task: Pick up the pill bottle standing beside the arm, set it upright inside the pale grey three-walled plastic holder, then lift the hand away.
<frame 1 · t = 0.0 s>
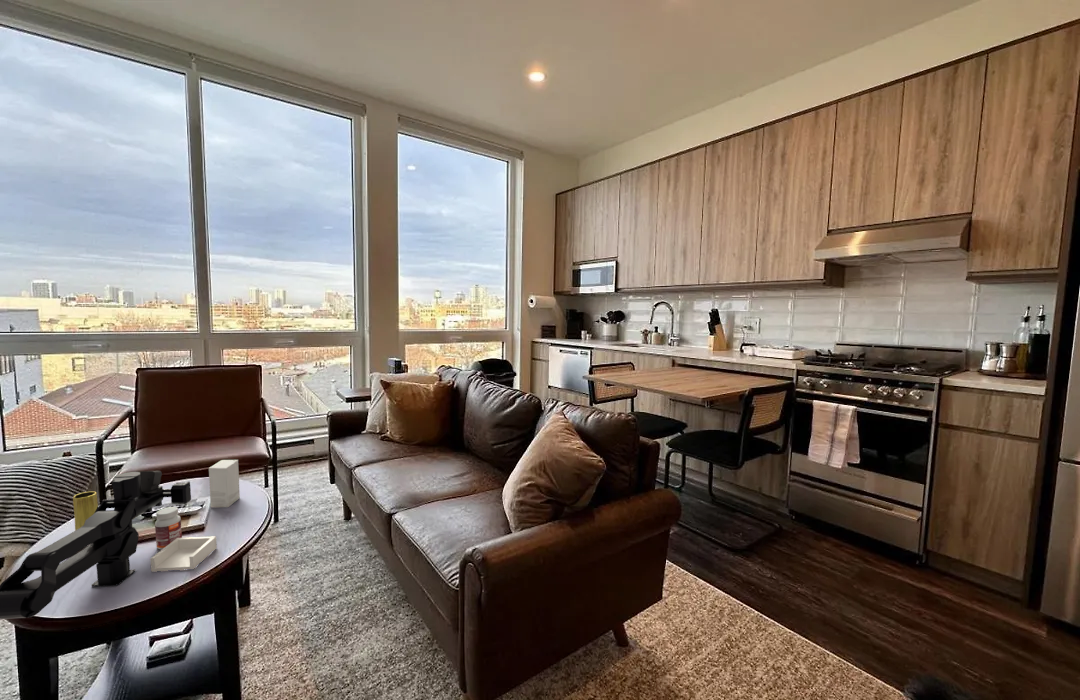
hand: (174, 483, 144), 17 cm above the table, tool horizontal, fingers open, 9 cm apart
skincare box: (226, 503, 167), on the table
vase: (88, 537, 141), on the table
pill bottle: (169, 545, 138), on the table
end holder: (185, 559, 130), on the table
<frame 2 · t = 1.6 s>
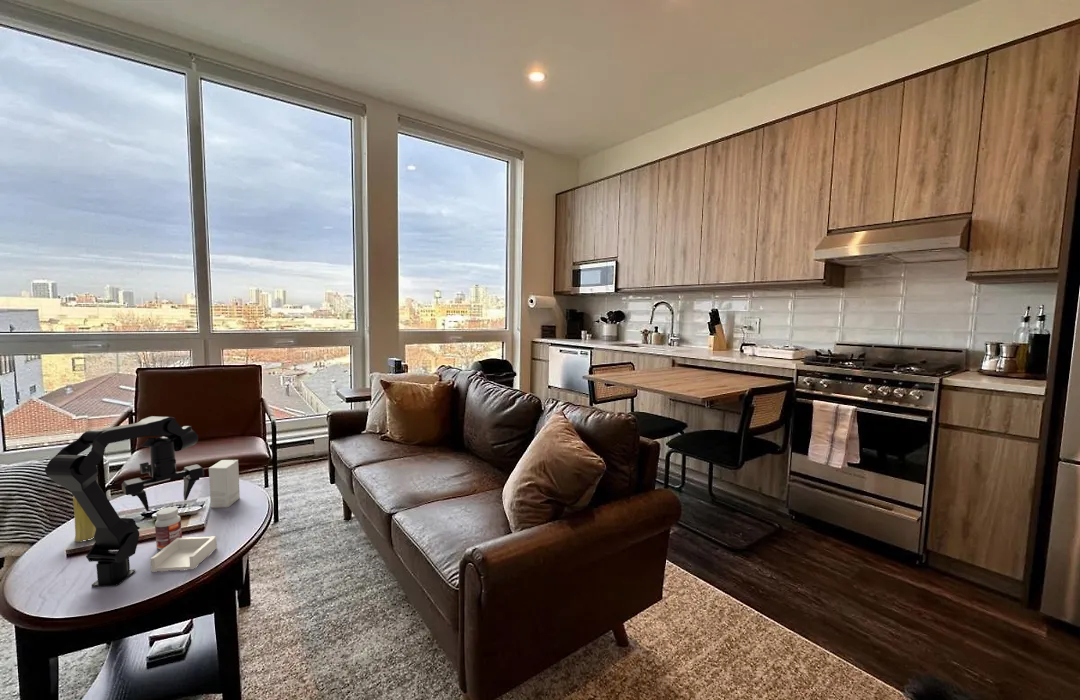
hand: (166, 505, 136), 13 cm above the table, tool pointing down, fingers open, 9 cm apart
nothing on the table moved.
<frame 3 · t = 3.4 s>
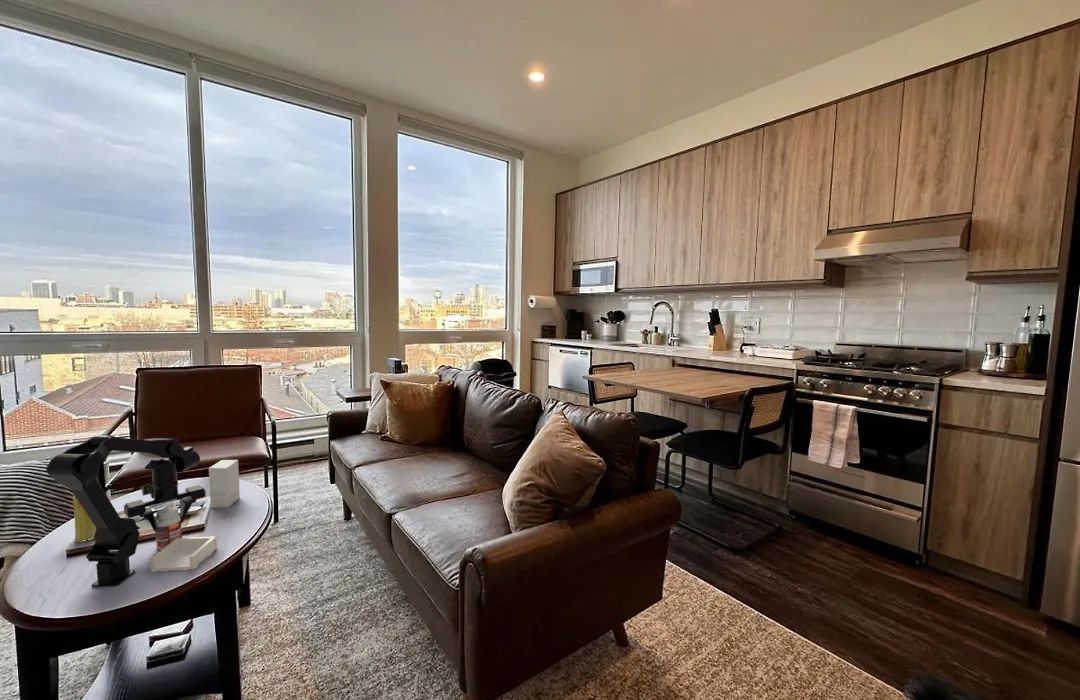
hand: (168, 526, 137), 6 cm above the table, tool pointing down, fingers closed on pill bottle, 6 cm apart
pill bottle: (169, 545, 138), on the table, touching gripper
everything else where it was.
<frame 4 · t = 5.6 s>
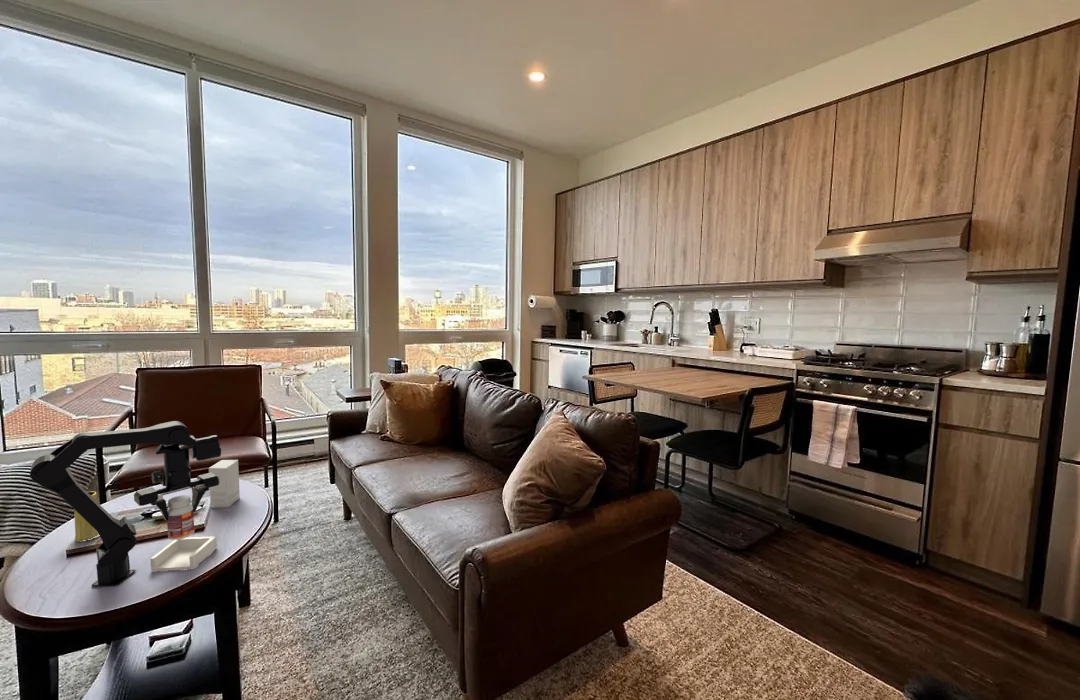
hand: (180, 515, 130), 13 cm above the table, tool pointing down, fingers closed on pill bottle, 6 cm apart
pill bottle: (181, 535, 131), point 7 cm above the table, touching gripper
everything else where it was.
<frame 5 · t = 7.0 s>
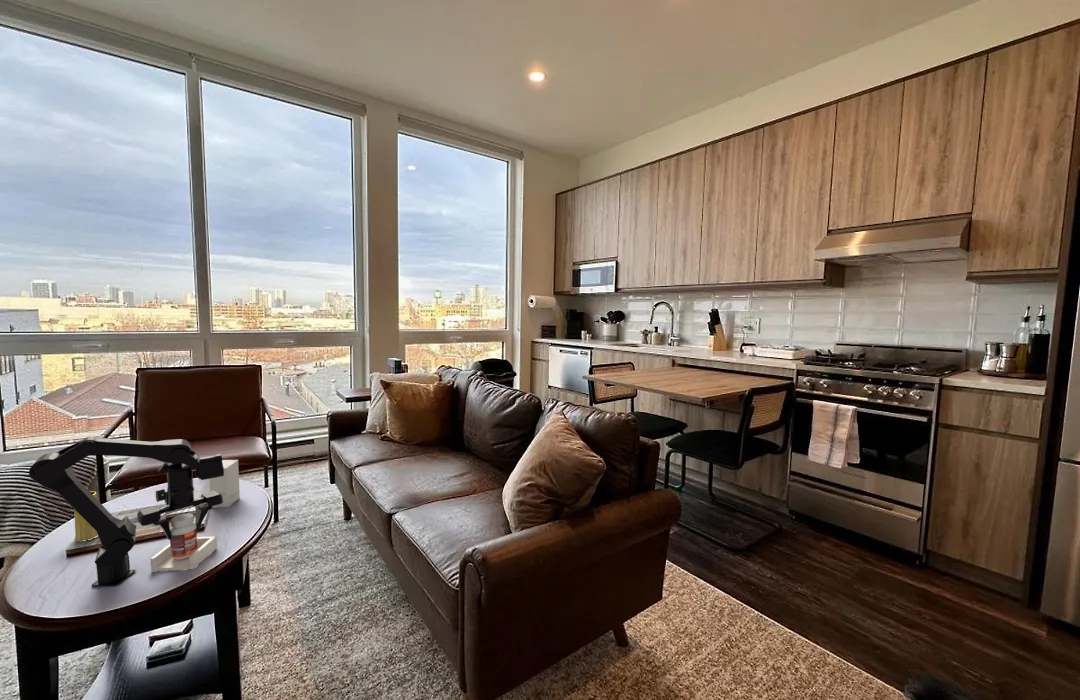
hand: (183, 534, 129), 8 cm above the table, tool pointing down, fingers closed on pill bottle, 6 cm apart
pill bottle: (184, 554, 130), point 2 cm above the table, touching gripper
everything else where it was.
when the fingers open (7 cm above the table, at t = 8.0 s): pill bottle stays where it is, resting on end holder.
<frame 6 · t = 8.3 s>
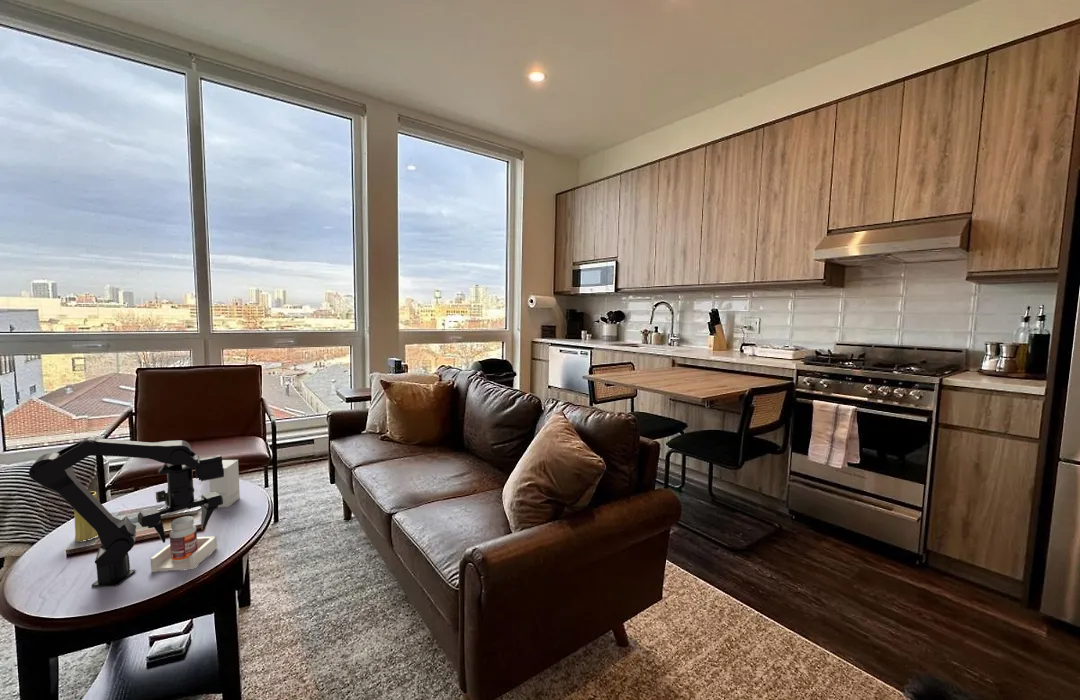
hand: (183, 535, 129), 7 cm above the table, tool pointing down, fingers open, 9 cm apart
pill bottle: (184, 557, 130), point 1 cm above the table, touching end holder
everything else where it was.
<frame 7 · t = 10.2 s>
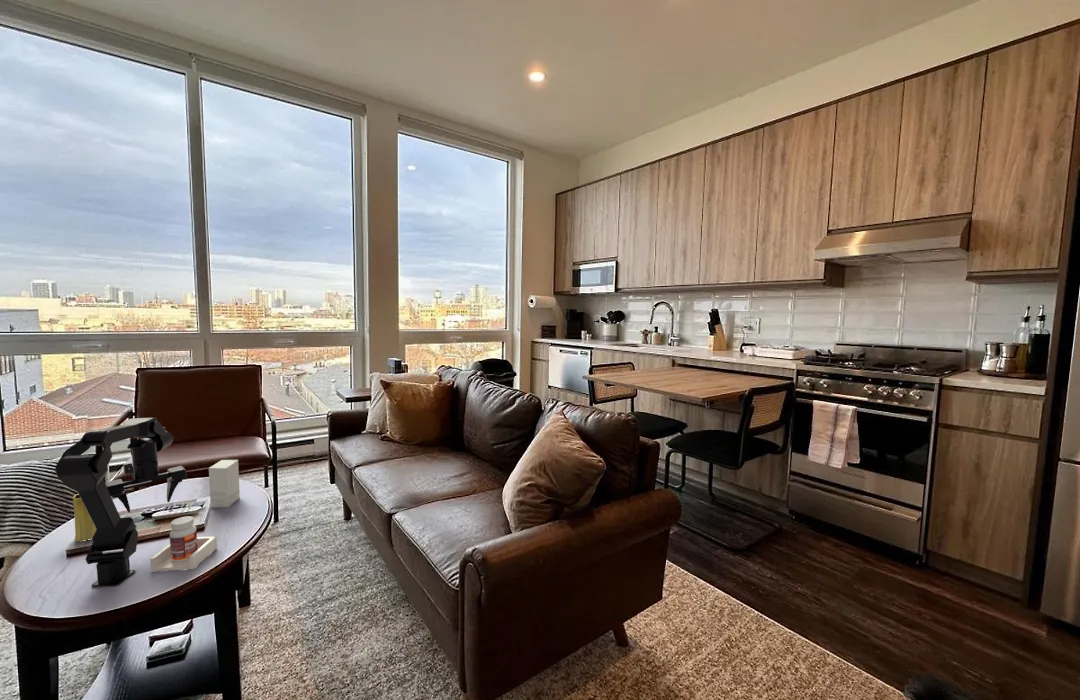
hand: (149, 506, 136), 13 cm above the table, tool pointing down, fingers open, 9 cm apart
nothing on the table moved.
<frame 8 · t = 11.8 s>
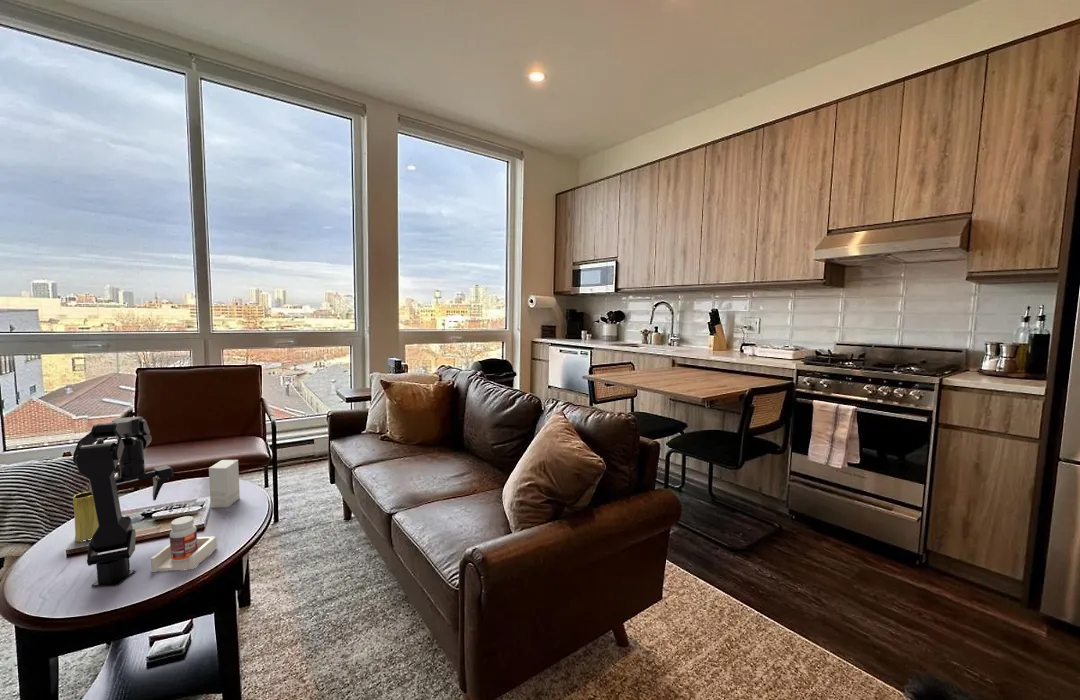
hand: (135, 505, 138), 12 cm above the table, tool pointing down, fingers open, 9 cm apart
nothing on the table moved.
at the end: pill bottle 0.1 cm off-centre on the end holder, point 0.8 cm above the end holder's base; pill bottle tilted 0°; the gripper is holding nothing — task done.
